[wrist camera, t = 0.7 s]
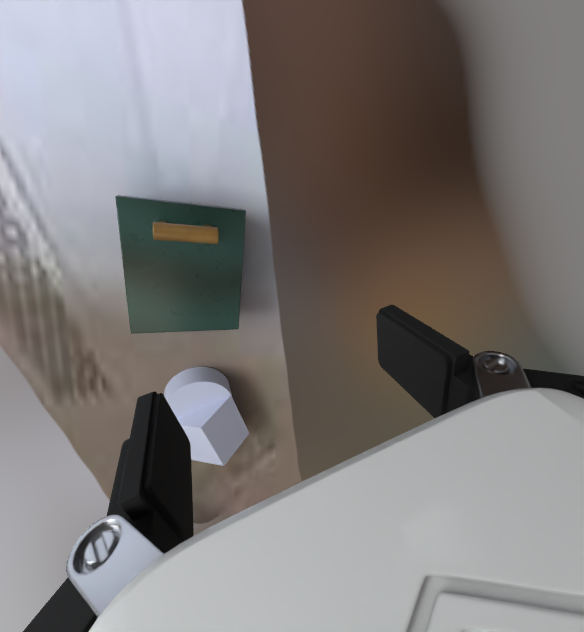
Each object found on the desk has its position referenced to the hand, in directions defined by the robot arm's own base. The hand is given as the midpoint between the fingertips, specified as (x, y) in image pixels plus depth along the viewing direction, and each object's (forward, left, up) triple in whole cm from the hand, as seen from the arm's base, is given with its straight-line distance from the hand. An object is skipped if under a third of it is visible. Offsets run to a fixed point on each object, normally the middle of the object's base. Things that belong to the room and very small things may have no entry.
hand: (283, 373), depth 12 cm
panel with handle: (+2, -3, -21) cm, 22 cm away
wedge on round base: (+23, -1, -26) cm, 35 cm away
